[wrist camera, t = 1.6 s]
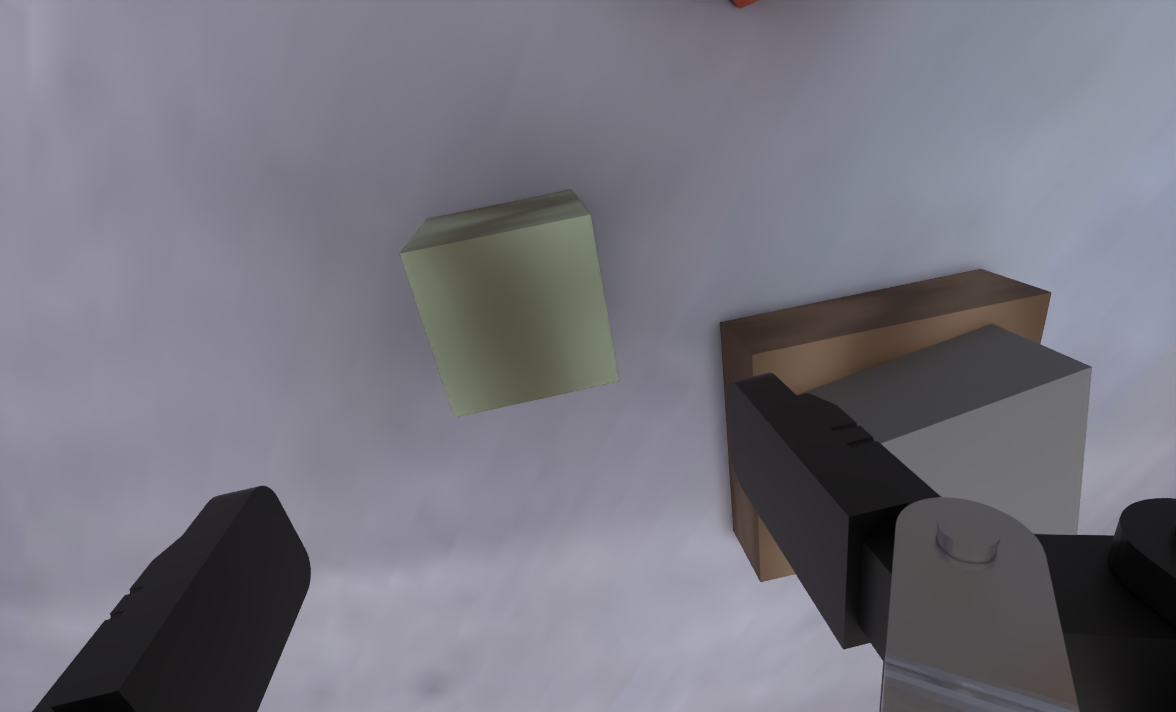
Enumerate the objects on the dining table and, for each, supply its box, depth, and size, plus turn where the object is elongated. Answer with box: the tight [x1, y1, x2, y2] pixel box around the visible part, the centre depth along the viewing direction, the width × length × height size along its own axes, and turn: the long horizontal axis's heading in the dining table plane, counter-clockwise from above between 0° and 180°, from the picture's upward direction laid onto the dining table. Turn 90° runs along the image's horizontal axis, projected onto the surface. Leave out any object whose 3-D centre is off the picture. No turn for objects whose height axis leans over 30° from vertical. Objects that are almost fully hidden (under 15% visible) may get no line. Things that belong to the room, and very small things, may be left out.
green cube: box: [400, 190, 619, 418], centre depth 19 cm, size 6×6×6 cm
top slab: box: [798, 324, 1092, 535], centre depth 21 cm, size 9×9×4 cm
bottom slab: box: [720, 269, 1051, 582], centre depth 25 cm, size 12×12×4 cm
